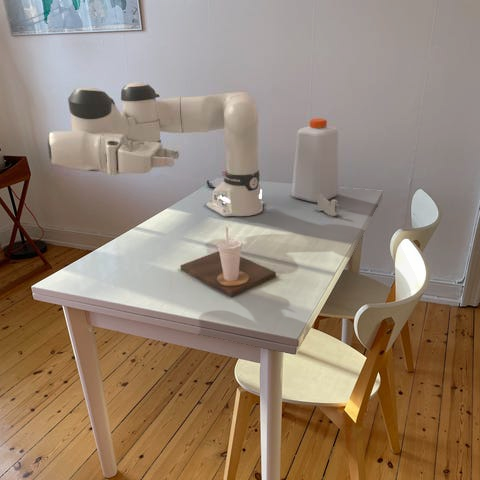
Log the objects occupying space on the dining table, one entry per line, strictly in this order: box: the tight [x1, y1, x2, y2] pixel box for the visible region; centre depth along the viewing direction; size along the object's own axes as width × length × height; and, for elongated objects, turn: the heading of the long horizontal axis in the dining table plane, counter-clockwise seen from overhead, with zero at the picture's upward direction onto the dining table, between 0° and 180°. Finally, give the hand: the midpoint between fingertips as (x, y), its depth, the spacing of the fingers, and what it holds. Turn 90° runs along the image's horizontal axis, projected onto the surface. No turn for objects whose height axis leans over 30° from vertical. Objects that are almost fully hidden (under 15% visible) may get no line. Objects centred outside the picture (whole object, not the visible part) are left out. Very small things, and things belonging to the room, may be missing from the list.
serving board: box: [180, 250, 277, 298], centre depth 137 cm, size 22×16×2 cm
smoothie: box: [216, 226, 243, 281], centre depth 127 cm, size 6×6×14 cm
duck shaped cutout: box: [316, 195, 340, 217], centre depth 174 cm, size 6×1×10 cm
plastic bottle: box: [291, 118, 339, 204], centre depth 186 cm, size 15×15×28 cm
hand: (176, 158), depth 117 cm, fingers open, 8 cm apart
